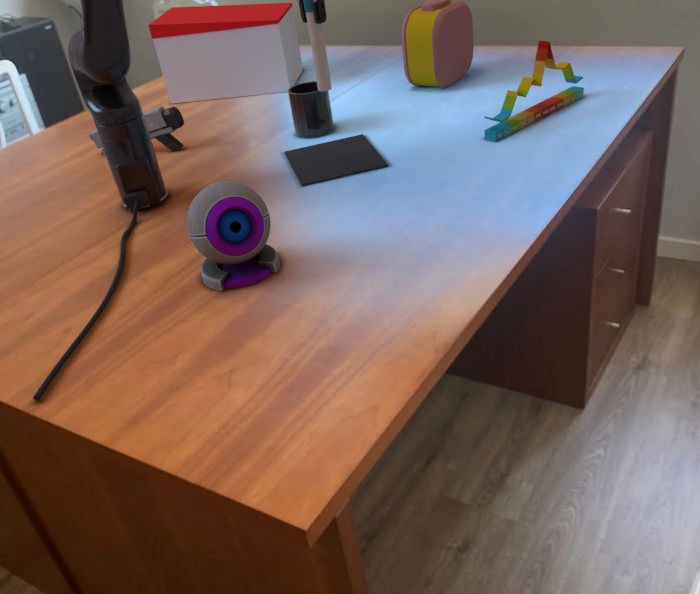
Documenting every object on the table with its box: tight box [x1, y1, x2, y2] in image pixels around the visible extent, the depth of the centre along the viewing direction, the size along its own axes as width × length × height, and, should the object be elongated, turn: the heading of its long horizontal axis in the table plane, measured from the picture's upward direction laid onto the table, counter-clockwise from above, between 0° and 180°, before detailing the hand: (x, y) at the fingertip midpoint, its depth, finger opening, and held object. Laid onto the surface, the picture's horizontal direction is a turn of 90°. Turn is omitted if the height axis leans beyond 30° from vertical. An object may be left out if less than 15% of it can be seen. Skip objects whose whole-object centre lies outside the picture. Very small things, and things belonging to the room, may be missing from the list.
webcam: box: [186, 180, 281, 291], centre depth 115 cm, size 13×13×15 cm
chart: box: [483, 40, 585, 142], centre depth 153 cm, size 30×3×15 cm, turn 131°
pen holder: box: [287, 80, 335, 139], centre depth 166 cm, size 9×9×10 cm
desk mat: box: [284, 133, 389, 187], centre depth 153 cm, size 20×18×1 cm
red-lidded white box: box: [147, 2, 304, 105], centre depth 202 cm, size 21×35×21 cm, turn 83°
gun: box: [88, 105, 185, 155], centre depth 171 cm, size 2×25×10 cm, turn 77°
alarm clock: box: [400, 0, 474, 89], centre depth 181 cm, size 18×11×19 cm, turn 144°
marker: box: [303, 0, 332, 92], centre depth 137 cm, size 3×3×19 cm
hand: (314, 21), depth 135 cm, fingers closed on marker, 3 cm apart
